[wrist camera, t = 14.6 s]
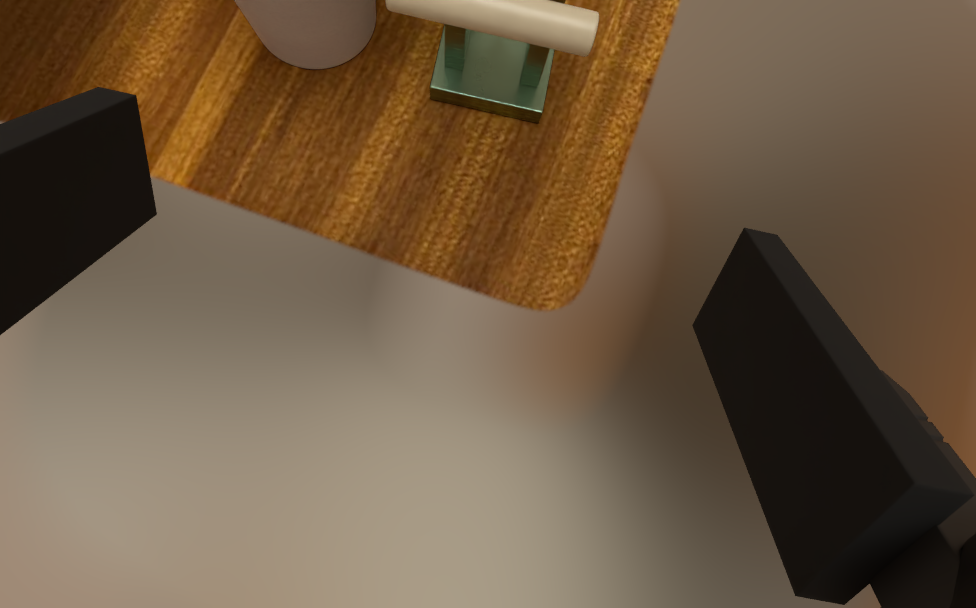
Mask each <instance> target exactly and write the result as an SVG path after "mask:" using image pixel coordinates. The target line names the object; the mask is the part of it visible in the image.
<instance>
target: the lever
mask: <svg viewBox="0 0 976 608" xmlns="http://www.w3.org/2000/svg"><path fill="white" fill-rule="evenodd" d="M385 1H386V7H387V9H388V10H389V11H392V12H396V13H401V14H405V15H409V16H413V17H418V18H422V19H426V20H431V21H435V22H439V23H443V24H448V25H452V26H456V27H460V28H465V29H469V30H473V31H478V32H482V33H486V34H490V35H495V36H499V37H503V38H507V39H512V40H516V41H520V42H525V43H529V44H533V45H537V46H542V47H546V48H550V49H554V50H559V51H563V52H567V53H572V54H576V55H580V56H584V57H585V56H588V54H589V53H590V51H591V48H592V45H593V42H594V39H595V35H596V31H597V27H598V22H599V13H598V12H596V11H592V10H588V9H584V8H580V7H575V6H571V5H567V4H563V3H559V2H554V1H550V0H385Z"/></svg>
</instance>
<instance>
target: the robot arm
mask: <svg viewBox="0 0 976 608" xmlns="http://www.w3.org/2000/svg"><path fill="white" fill-rule="evenodd" d="M156 214H157V213H156V207H155V201H154V195H153V190H152V184H151V178H150V172H149V167H148V161H147V155H146V149H145V144H144V138H143V132H142V127H141V121H140V115H139V109H138V104H137V98H136V95H133V94H128V93H123V92H119V91H114V90H110V89H105V88H100V87H97V88H94V89H92V90H89V91H87V92H84V93H81V94H79V95H76V96H73V97H71V98H68V99H65V100H63V101H60V102H58V103H55V104H52V105H50V106H47V107H44V108H42V109H39V110H37V111H34V112H31V113H29V114H26V115H23V116H21V117H18V118H16V119H13V120H10V121H8V122H5V123H2V124H0V335H1V334H2V333H4V332H5V331H6V330H8V329H9V328H10V327H11V326H13V325H14V324H15V323H17V322H18V321H19V320H20V319H22V318H23V317H24V316H26V315H27V314H28V313H30V312H31V311H32V310H33V309H35V308H36V307H37V306H39V305H40V304H41V303H42V302H44V301H45V300H46V299H47V298H49V297H50V296H51V295H53V294H54V293H55V292H57V291H58V290H59V289H61V288H62V287H63V286H64V285H66V284H67V283H68V282H70V281H71V280H72V279H74V278H75V277H76V276H77V275H79V274H80V273H81V272H83V271H84V270H85V269H87V268H88V267H89V266H90V265H92V264H93V263H94V262H96V261H97V260H98V259H99V258H101V257H102V256H103V255H104V254H106V253H107V252H109V251H110V250H111V249H112V248H114V247H115V246H116V245H117V244H119V243H120V242H121V241H123V240H124V239H125V238H127V237H128V236H129V235H131V234H132V233H133V232H134V231H136V230H137V229H138V228H140V227H141V226H142V225H143V224H145V223H146V222H147V221H149V220H150V219H151V218H153V217H154V216H155V215H156ZM693 328H694V331H695V333H696V335H697V338H698V341H699V344H700V346H701V349H702V352H703V354H704V357H705V360H706V362H707V365H708V367H709V370H710V373H711V375H712V378H713V381H714V383H715V386H716V388H717V391H718V394H719V396H720V399H721V401H722V404H723V407H724V409H725V412H726V415H727V417H728V419H729V423H730V425H731V428H732V431H733V433H734V435H735V438H736V441H737V444H738V446H739V449H740V451H741V454H742V457H743V459H744V462H745V465H746V467H747V470H748V473H749V475H750V478H751V480H752V483H753V486H754V488H755V491H756V494H757V496H758V499H759V501H760V504H761V507H762V509H763V512H764V515H765V517H766V520H767V523H768V525H769V528H770V530H771V533H772V536H773V538H774V541H775V543H776V546H777V549H778V551H779V554H780V557H781V559H782V562H783V565H784V567H785V570H786V572H787V575H788V578H789V580H790V583H791V586H792V588H793V591H794V593H795V596H799V597H804V598H810V599H816V600H820V601H826V602H832V603H837V604H842V605H845V604H846V603H847V602H848V601H849V600H850V599H852V598H853V597H854V596H855V595H856V594H858V593H859V592H860V591H861V590H862V589H864V588H865V587H866V586H867V585H868V584H870V585H871V587H872V589H873V591H874V593H875V595H876V597H877V599H878V601H879V603H880V605H881V608H976V478H975V477H974V476H973V474H972V473H971V472H970V470H969V469H968V468H967V467H966V465H965V464H964V463H963V461H962V460H961V459H960V458H959V456H958V455H957V454H956V453H955V451H954V450H953V449H952V448H951V446H950V445H949V444H948V443H946V442H943V438H944V437H943V436H942V435H941V434H940V432H939V431H938V430H937V429H936V427H935V426H934V424H933V423H932V422H928V421H927V419H928V417H927V416H926V414H925V413H924V412H923V411H922V409H921V408H920V407H919V405H918V404H917V403H916V402H915V400H914V399H913V398H912V397H911V395H910V394H909V393H908V392H907V391H906V390H904V389H903V388H902V387H901V386H900V385H899V384H897V383H896V382H895V381H894V380H893V379H891V378H890V377H889V376H888V375H887V374H885V373H884V372H883V371H881V370H879V368H878V367H877V366H876V364H875V363H874V362H873V360H872V359H871V358H870V356H869V355H868V354H867V352H866V351H865V350H864V349H863V347H862V346H861V345H860V343H859V342H858V341H857V339H856V338H855V337H854V335H853V334H852V333H851V331H850V330H849V329H848V327H847V326H846V325H845V324H844V322H843V321H842V319H841V318H840V317H839V316H838V314H837V313H836V312H835V310H834V309H833V308H832V306H831V305H830V304H829V302H828V301H827V300H826V298H825V297H824V296H823V295H822V293H821V292H820V291H819V289H818V288H817V287H816V285H815V284H814V283H813V281H812V280H811V279H810V277H809V276H808V275H807V273H806V272H805V271H804V269H803V268H802V267H801V265H800V264H799V263H798V261H797V260H796V259H795V258H794V256H793V255H792V254H791V252H790V251H789V250H788V248H787V247H786V246H785V244H784V243H783V242H782V240H781V239H780V238H779V237H778V235H775V234H770V233H766V232H761V231H756V230H752V229H748V228H744V229H743V231H742V233H741V234H740V236H739V238H738V240H737V242H736V244H735V246H734V248H733V250H732V252H731V253H730V255H729V257H728V259H727V261H726V263H725V265H724V267H723V269H722V270H721V272H720V274H719V276H718V278H717V280H716V282H715V284H714V285H713V287H712V289H711V291H710V293H709V295H708V297H707V299H706V301H705V303H704V304H703V306H702V308H701V310H700V312H699V314H698V316H697V318H696V319H695V321H694V323H693Z"/></svg>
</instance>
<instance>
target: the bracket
mask: <svg viewBox="0 0 976 608" xmlns="http://www.w3.org/2000/svg"><path fill="white" fill-rule="evenodd" d="M550 1H554V2H559V3H563V4H564V3H565V0H550ZM554 51H555V50H554V49H550V48H546V47H542V46H537V45H533V44H529V43H525V42H520V41H516V40H512V39H507V38H503V37H499V36H495V35H490V34H486V33H482V32H478V31H473V30H469V29H465V28H460V27H456V26H452V25H448V24H444V28H443V32H442V37H441V41H440V45H439V49H438V54H437V58H436V62H435V66H434V71H433V75H432V79H431V84H430V99H433V100H438V101H442V102H446V103H451V104H455V105H460V106H464V107H468V108H473V109H477V110H482V111H486V112H490V113H495V114H499V115H504V116H508V117H513V118H517V119H521V120H526V121H530V122H535V123H539V121H540V118H541V115H542V113H543V108H544V103H545V97H546V92H547V87H548V82H549V77H550V72H551V66H552V61H553V56H554Z"/></svg>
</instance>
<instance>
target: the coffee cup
mask: <svg viewBox="0 0 976 608" xmlns="http://www.w3.org/2000/svg"><path fill="white" fill-rule="evenodd" d="M234 1H235V2H236V4H237V5H238V7H239V8H240V10H241V11H242V13H243V14H244V16H245V17H246V19H247V20H248V22H249V23H250V25H251V26H252V28H253V29H254V31H255V32H256V34H257V35H258V37H259V38H260V40H261V41H262V43H263V44H264V45H265V46H266V48H267V49H268V50H269V51H270V52H271V53H272V54H274V55H275V56H276V57H278V58H279V59H281V60H282V61H284V62H286V63H288V64H291V65H294V66H297V67H301V68H307V69H325V68H331V67H335V66H338V65H340V64H343V63H345V62H347V61H349V60H350V59H352V58H353V57H355V56H356V55H357V54H358V53H360V52H361V51H362V50H363V48H364V47H365V46H366V45H367V43H368V42H369V40H370V38H371V36H372V34H373V31H374V28H375V23H376V0H234Z"/></svg>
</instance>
